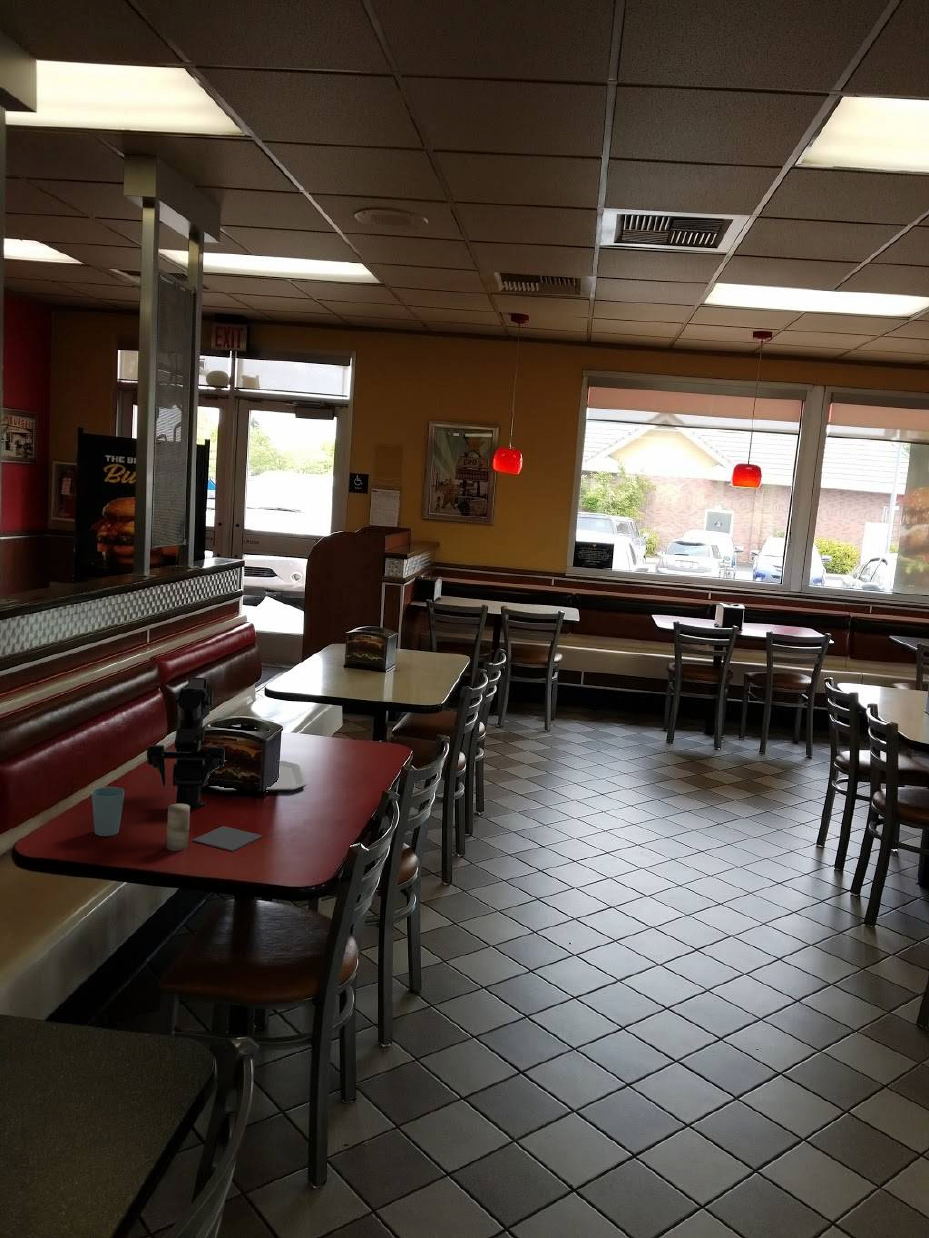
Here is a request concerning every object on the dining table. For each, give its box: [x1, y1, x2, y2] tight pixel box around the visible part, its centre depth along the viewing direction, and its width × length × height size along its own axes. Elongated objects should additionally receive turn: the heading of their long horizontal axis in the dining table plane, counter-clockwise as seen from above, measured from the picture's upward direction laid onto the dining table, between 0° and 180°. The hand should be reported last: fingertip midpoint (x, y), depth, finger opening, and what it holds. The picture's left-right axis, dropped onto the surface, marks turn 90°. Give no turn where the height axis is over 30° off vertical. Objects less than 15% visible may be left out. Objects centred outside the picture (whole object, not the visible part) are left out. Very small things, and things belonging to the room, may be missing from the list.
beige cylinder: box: [165, 803, 191, 852], centre depth 228 cm, size 5×5×10 cm
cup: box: [90, 786, 126, 837], centre depth 234 cm, size 8×8×10 cm
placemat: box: [192, 825, 263, 853], centre depth 236 cm, size 12×12×1 cm
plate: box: [208, 760, 307, 793], centre depth 285 cm, size 29×29×2 cm
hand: (183, 785), depth 235 cm, fingers open, 9 cm apart
